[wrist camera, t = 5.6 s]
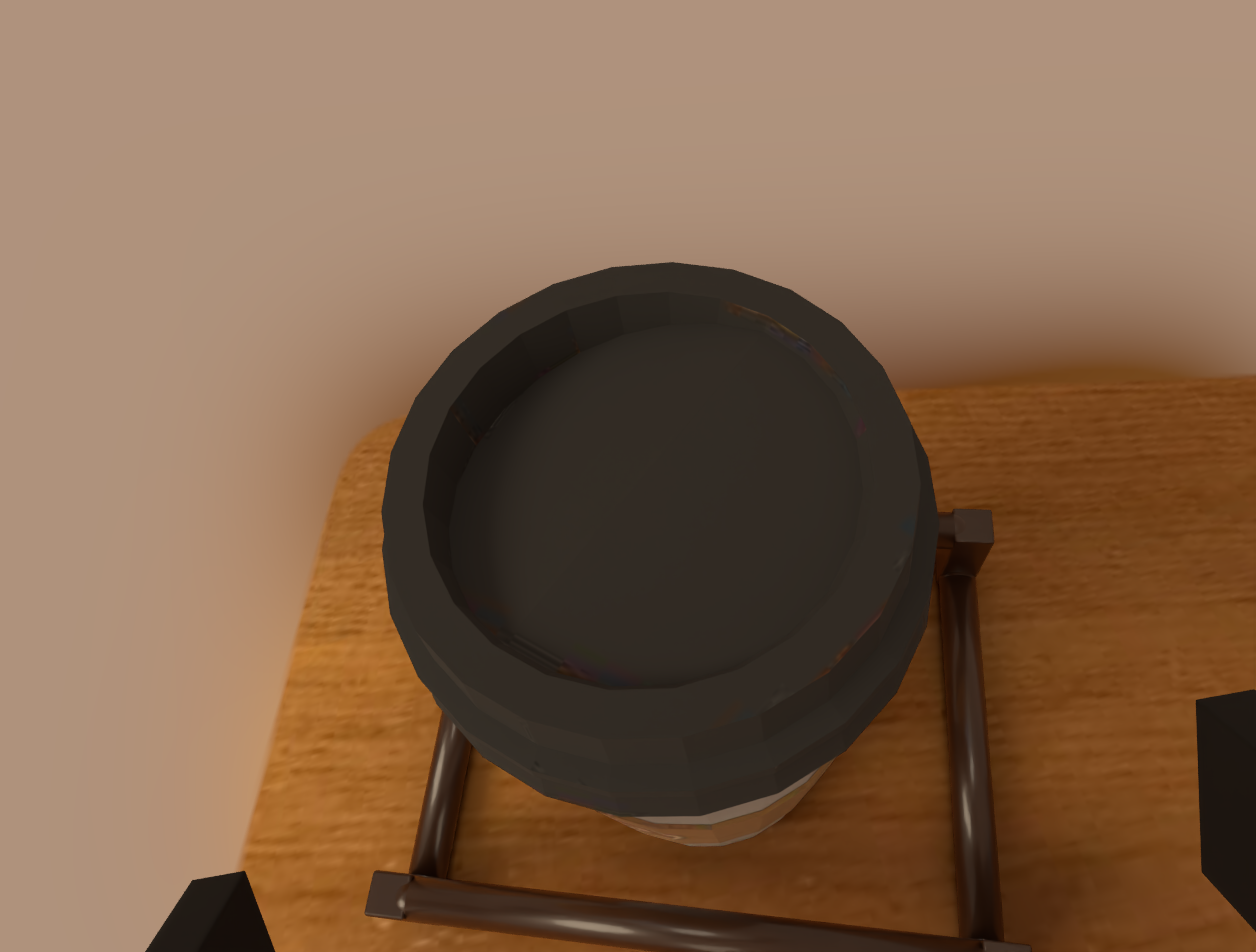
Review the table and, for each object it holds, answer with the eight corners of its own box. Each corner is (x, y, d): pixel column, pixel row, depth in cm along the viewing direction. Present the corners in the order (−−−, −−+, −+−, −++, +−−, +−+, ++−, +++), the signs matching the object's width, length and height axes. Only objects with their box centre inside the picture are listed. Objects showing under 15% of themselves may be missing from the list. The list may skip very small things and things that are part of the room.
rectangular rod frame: (406, 921, 24) (360, 915, 21) (485, 532, 29) (457, 487, 26) (1003, 995, 21) (1037, 998, 18) (969, 554, 26) (992, 507, 24)
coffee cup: (499, 758, 25) (223, 539, 12) (673, 539, 28) (597, 166, 15) (742, 965, 22) (714, 960, 9) (914, 695, 25) (1083, 392, 12)
